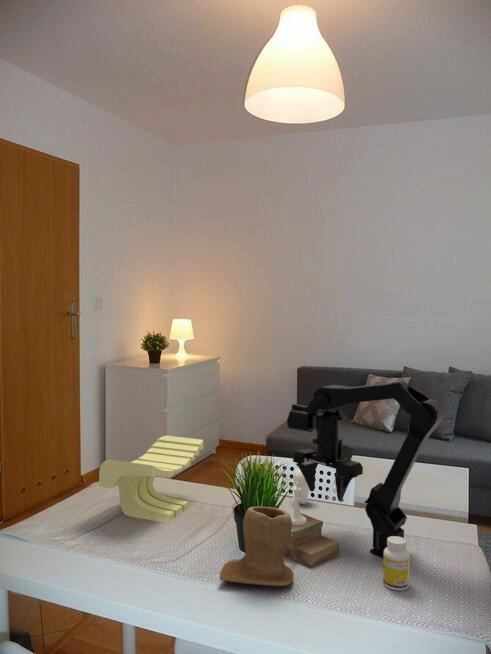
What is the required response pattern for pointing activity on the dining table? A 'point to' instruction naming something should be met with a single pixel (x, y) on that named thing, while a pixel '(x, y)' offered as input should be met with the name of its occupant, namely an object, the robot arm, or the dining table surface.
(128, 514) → the slatted curved stool
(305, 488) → the lightbulb
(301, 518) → the chess piece
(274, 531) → the brown suede boot
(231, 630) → the dining table surface
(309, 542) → the step stand
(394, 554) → the supplement bottle
